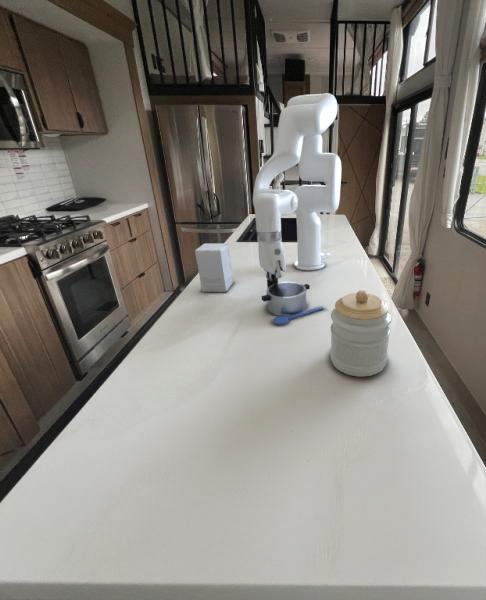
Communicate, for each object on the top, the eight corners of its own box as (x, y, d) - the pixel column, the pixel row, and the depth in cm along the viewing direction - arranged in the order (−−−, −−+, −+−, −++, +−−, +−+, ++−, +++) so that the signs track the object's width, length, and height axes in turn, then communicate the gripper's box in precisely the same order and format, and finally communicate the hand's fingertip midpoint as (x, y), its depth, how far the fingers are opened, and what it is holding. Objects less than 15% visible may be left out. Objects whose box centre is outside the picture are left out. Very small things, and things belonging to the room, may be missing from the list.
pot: (298, 294, 109) (298, 277, 106) (319, 307, 100) (319, 289, 97) (255, 306, 101) (253, 288, 99) (273, 322, 92) (271, 303, 89)
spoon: (318, 306, 100) (318, 303, 100) (326, 311, 97) (326, 309, 97) (271, 320, 93) (270, 318, 92) (278, 327, 90) (277, 324, 89)
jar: (351, 385, 67) (355, 310, 60) (319, 353, 78) (319, 286, 70) (398, 366, 73) (408, 295, 65) (363, 339, 83) (368, 275, 75)
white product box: (234, 282, 119) (229, 242, 113) (226, 292, 111) (220, 250, 105) (210, 281, 120) (204, 242, 114) (201, 291, 112) (193, 250, 106)
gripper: (292, 238, 96) (294, 295, 104) (269, 229, 107) (272, 280, 115) (269, 243, 92) (273, 301, 100) (248, 232, 103) (253, 285, 111)
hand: (273, 290), depth 107 cm, fingers closed
